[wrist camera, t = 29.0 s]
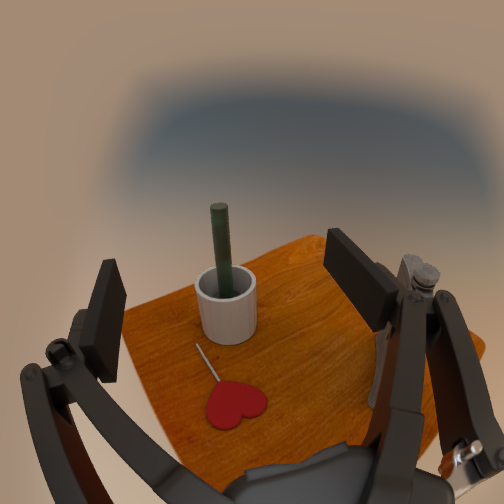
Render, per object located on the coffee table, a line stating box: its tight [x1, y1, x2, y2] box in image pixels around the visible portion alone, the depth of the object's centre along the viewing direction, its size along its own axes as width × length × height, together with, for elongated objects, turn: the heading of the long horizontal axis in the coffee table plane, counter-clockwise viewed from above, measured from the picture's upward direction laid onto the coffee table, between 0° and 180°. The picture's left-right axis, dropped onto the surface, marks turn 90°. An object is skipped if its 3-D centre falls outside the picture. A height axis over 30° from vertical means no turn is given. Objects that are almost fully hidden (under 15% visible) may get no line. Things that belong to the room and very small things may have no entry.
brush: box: [210, 203, 241, 299], centre depth 40 cm, size 5×5×20 cm
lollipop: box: [196, 344, 267, 430], centre depth 36 cm, size 8×1×15 cm
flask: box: [367, 253, 440, 409], centre depth 31 cm, size 4×14×18 cm, turn 158°
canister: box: [195, 264, 257, 345], centre depth 43 cm, size 9×9×9 cm
